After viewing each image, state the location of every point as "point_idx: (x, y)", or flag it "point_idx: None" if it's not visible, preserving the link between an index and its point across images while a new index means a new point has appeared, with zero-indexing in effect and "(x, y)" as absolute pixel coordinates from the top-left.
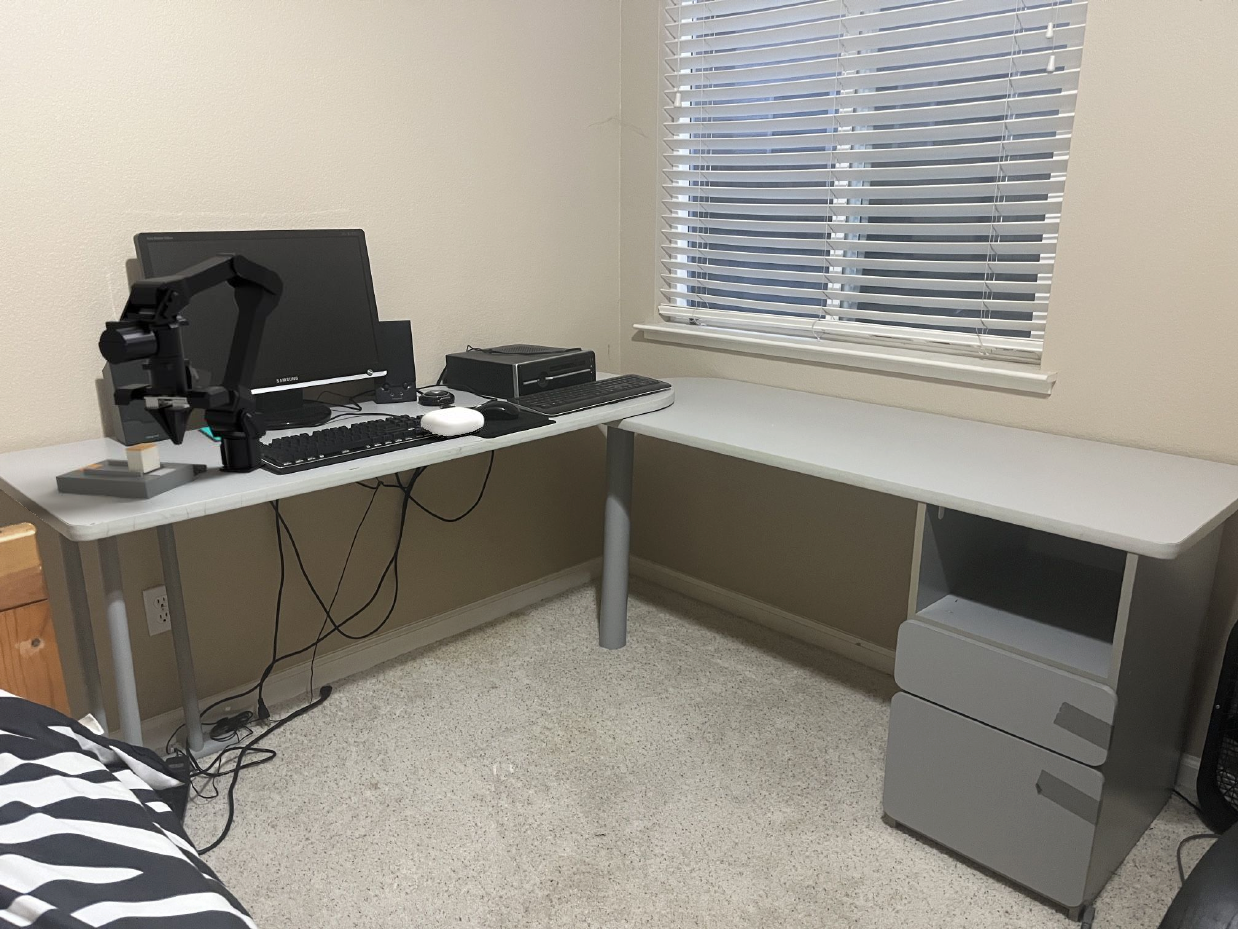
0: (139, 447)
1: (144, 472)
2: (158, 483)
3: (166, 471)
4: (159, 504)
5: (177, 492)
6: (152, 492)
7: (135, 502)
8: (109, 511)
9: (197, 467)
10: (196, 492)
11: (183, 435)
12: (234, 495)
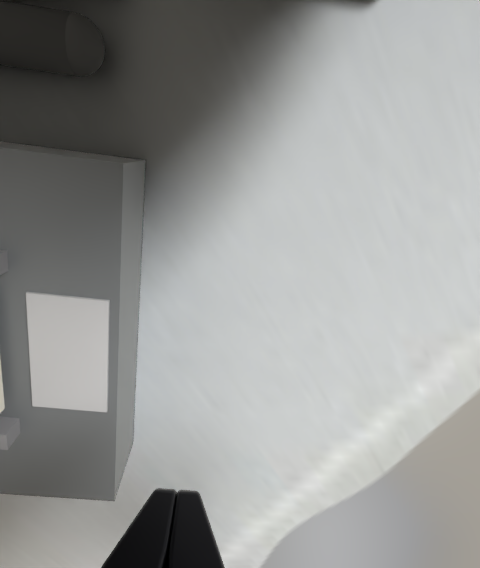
0: None
1: (3, 408)
2: (123, 415)
3: (89, 349)
4: (217, 485)
5: (193, 359)
6: (129, 431)
7: None
8: (97, 551)
9: (86, 38)
10: (275, 353)
11: (219, 565)
12: (451, 376)
